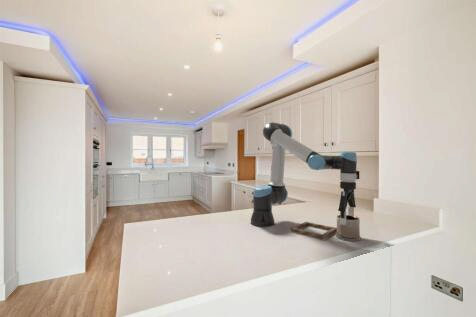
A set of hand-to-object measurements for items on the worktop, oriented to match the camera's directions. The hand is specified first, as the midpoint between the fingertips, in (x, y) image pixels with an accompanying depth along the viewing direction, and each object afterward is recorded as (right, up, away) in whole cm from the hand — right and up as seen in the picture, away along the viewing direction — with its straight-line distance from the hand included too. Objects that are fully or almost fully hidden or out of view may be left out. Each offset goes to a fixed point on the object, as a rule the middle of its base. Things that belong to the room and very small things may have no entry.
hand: (347, 221), depth 117 cm
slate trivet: (0, -8, 0) cm, 8 cm away
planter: (0, -7, 0) cm, 7 cm away
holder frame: (-14, -8, +9) cm, 19 cm away
